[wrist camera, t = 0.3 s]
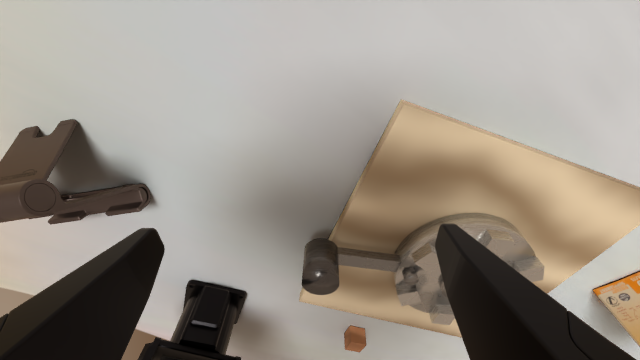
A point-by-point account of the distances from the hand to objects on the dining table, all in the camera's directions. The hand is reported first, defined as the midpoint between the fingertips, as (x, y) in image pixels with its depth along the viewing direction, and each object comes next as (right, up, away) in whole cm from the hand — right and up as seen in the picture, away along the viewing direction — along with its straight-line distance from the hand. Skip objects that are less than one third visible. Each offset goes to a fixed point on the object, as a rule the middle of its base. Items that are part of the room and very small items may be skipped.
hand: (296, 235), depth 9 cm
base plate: (+13, -8, +21) cm, 26 cm away
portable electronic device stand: (-19, +3, +15) cm, 24 cm away
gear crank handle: (+10, -5, +18) cm, 21 cm away
